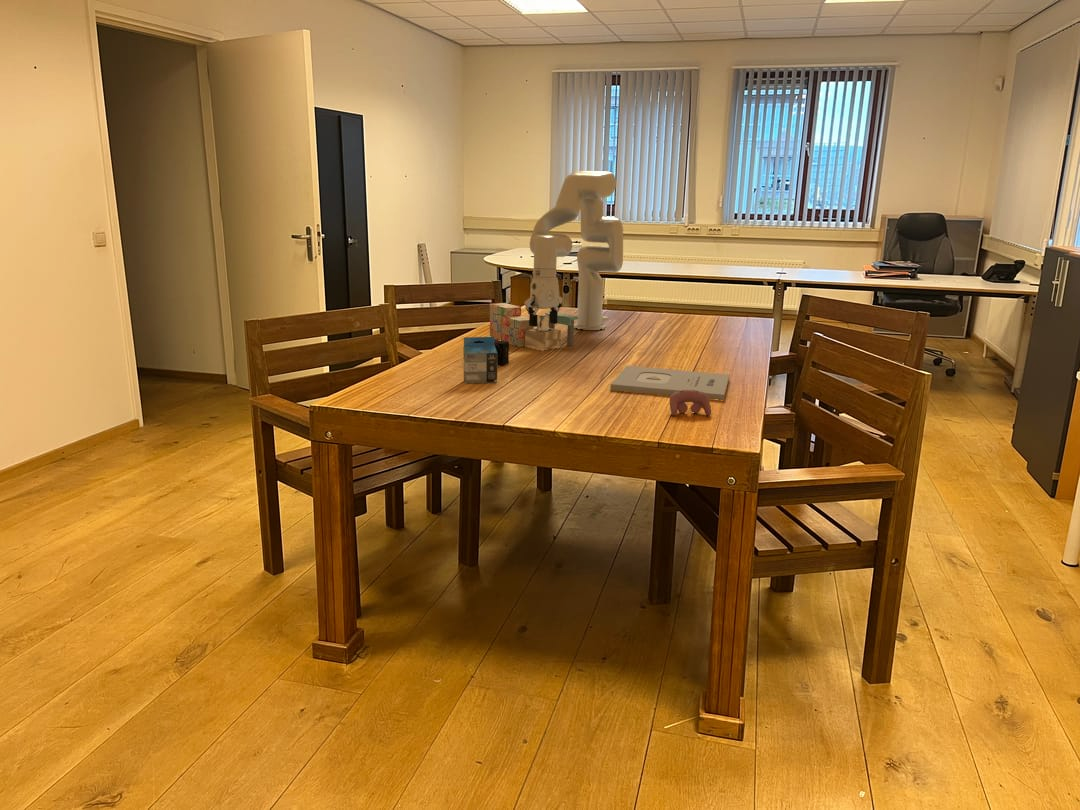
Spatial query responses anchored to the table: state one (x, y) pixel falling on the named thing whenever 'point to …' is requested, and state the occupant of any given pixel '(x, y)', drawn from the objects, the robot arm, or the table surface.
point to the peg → (543, 323)
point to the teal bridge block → (565, 320)
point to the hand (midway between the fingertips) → (543, 324)
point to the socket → (542, 339)
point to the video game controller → (693, 396)
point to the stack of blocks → (508, 323)
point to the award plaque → (670, 381)
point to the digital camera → (500, 351)
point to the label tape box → (480, 360)
